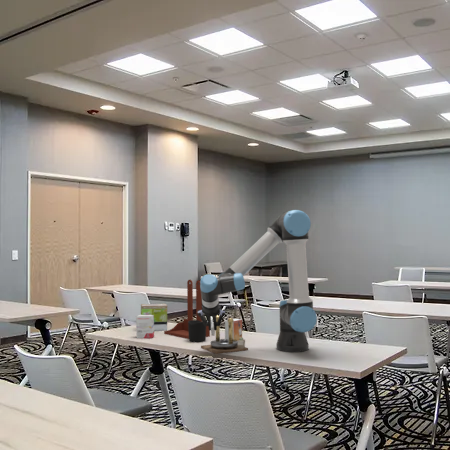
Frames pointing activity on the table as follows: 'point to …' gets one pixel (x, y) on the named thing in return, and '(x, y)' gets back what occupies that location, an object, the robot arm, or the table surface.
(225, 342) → the brass post metal stand
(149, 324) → the ink box
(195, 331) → the pen holder
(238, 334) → the small box
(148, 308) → the tea box
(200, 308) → the dustpan and brush
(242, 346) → the stand
